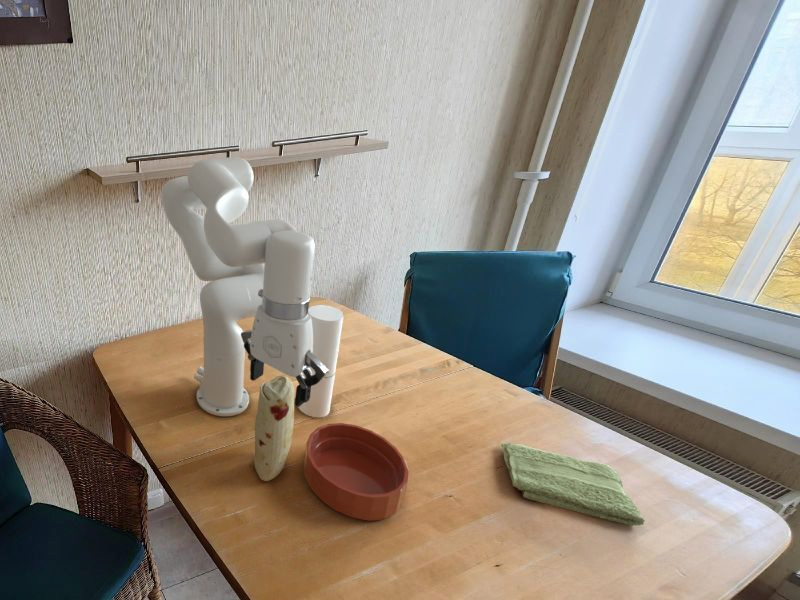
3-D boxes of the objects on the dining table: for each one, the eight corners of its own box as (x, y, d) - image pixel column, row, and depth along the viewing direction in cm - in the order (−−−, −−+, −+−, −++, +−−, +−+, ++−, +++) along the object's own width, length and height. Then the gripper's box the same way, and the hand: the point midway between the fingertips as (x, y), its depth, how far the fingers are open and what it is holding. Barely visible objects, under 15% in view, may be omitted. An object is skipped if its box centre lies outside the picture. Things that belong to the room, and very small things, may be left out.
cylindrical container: (329, 400, 102) (342, 307, 93) (330, 420, 96) (344, 322, 87) (298, 394, 104) (308, 303, 96) (296, 413, 98) (307, 318, 89)
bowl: (285, 476, 82) (288, 452, 80) (332, 433, 92) (336, 411, 90) (375, 542, 70) (381, 516, 68) (418, 484, 80) (424, 460, 78)
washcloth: (496, 446, 88) (500, 434, 87) (610, 476, 80) (616, 463, 79) (511, 496, 77) (516, 483, 76) (646, 536, 70) (654, 522, 68)
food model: (278, 493, 79) (287, 405, 72) (244, 477, 82) (249, 392, 75) (294, 457, 86) (303, 375, 79) (262, 444, 90) (268, 364, 83)
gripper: (230, 295, 75) (228, 376, 81) (319, 331, 63) (309, 424, 69) (257, 283, 80) (253, 361, 86) (345, 315, 67) (333, 403, 73)
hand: (278, 389), depth 77 cm, fingers open, 9 cm apart
